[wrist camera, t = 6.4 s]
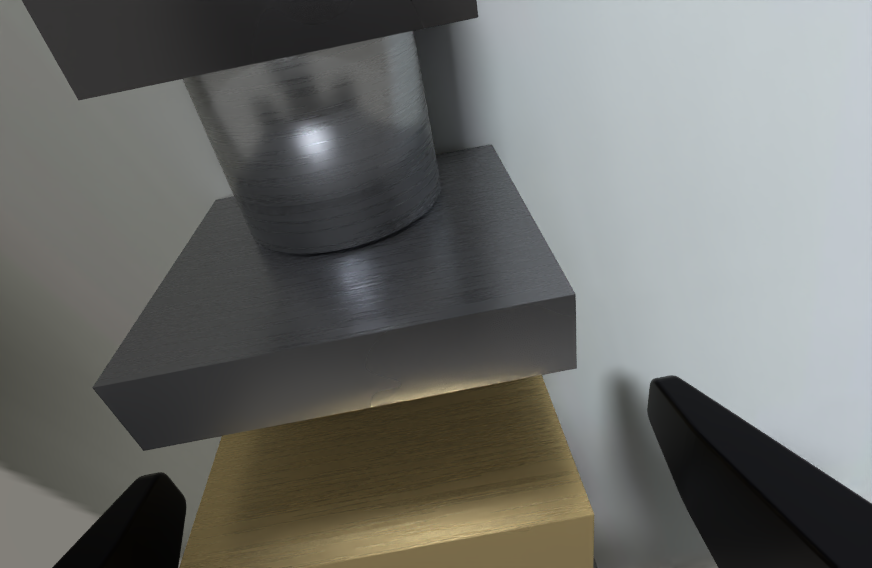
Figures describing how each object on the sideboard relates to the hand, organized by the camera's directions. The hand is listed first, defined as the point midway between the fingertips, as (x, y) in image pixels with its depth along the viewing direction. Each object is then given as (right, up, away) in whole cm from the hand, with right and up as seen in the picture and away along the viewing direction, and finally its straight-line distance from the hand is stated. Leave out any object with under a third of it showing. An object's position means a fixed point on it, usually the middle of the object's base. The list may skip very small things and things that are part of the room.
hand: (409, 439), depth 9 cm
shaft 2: (-1, +6, -2) cm, 6 cm away
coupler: (0, +1, +2) cm, 2 cm away
